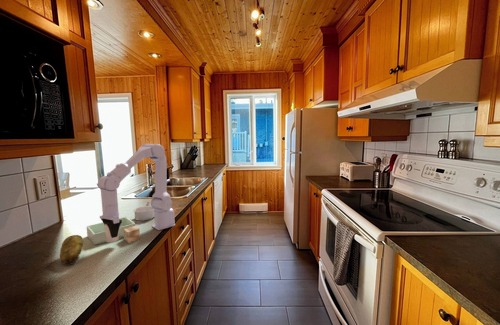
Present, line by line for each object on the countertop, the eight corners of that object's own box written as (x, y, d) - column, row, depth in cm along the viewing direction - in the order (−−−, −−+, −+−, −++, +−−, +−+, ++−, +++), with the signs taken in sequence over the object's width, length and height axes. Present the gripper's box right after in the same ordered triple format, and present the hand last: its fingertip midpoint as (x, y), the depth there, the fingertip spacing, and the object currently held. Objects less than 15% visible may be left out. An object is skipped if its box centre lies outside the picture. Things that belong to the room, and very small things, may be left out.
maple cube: (135, 235, 108) (135, 225, 108) (139, 239, 105) (139, 228, 104) (124, 239, 105) (123, 229, 104) (128, 242, 101) (127, 232, 101)
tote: (126, 225, 120) (125, 216, 119) (135, 233, 111) (135, 223, 110) (87, 236, 107) (86, 226, 107) (94, 245, 98) (93, 234, 98)
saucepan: (158, 209, 147) (158, 201, 146) (154, 220, 128) (154, 211, 127) (139, 211, 144) (138, 202, 143) (132, 222, 125) (131, 212, 124)
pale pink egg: (117, 235, 100) (116, 220, 100) (121, 239, 97) (119, 223, 96) (104, 239, 97) (103, 224, 96) (107, 243, 93) (106, 227, 92)
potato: (48, 269, 80) (46, 248, 80) (68, 251, 93) (66, 233, 92) (75, 266, 82) (73, 245, 81) (91, 249, 95) (90, 231, 94)
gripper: (94, 202, 97) (97, 232, 99) (104, 210, 87) (106, 243, 89) (112, 199, 102) (115, 228, 104) (123, 206, 92) (126, 237, 94)
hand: (112, 235), depth 97 cm, fingers closed on pale pink egg, 5 cm apart
